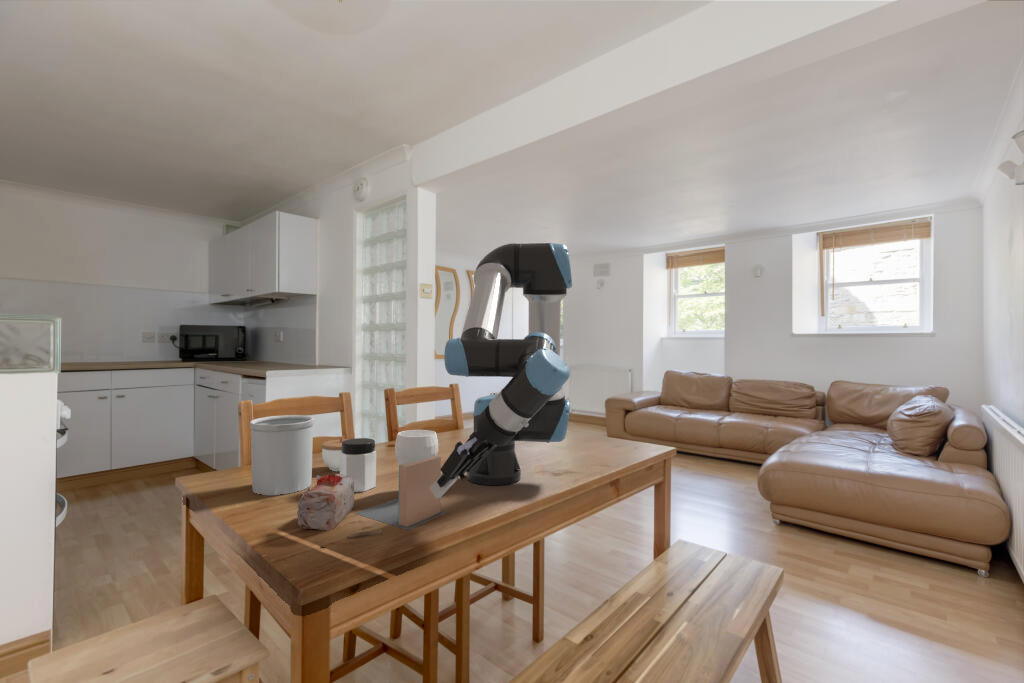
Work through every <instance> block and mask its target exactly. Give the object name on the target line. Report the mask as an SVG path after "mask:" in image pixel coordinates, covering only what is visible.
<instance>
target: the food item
mask: <svg viewBox="0 0 1024 683" xmlns="http://www.w3.org/2000/svg"><path fill="white" fill-rule="evenodd" d="M315 478H316V485H314V487H312V488H311V487H308V488H306V490H304V492H303V493H302V496H301V497H300V499H299V501H298V502H297V507H298V510H297V524H298V526H299V527H300V529H301V528H303V529H304V530H318V531H323V532H324V531H325V532H326V531H332V530H334V529H335V528H337V526H339V525H340V523H341V522H342V521H343V520H344V519H345V518H346V517H347V516H348V515H350V513H351V511H353V509H354V507H355V492H354V478H352V477H350V476H348V475H343V474H340V473H336V474H334V473H331V474H328V475H324V476H323V477H322V476H321V475H318V474H316V477H315Z"/></svg>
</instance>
